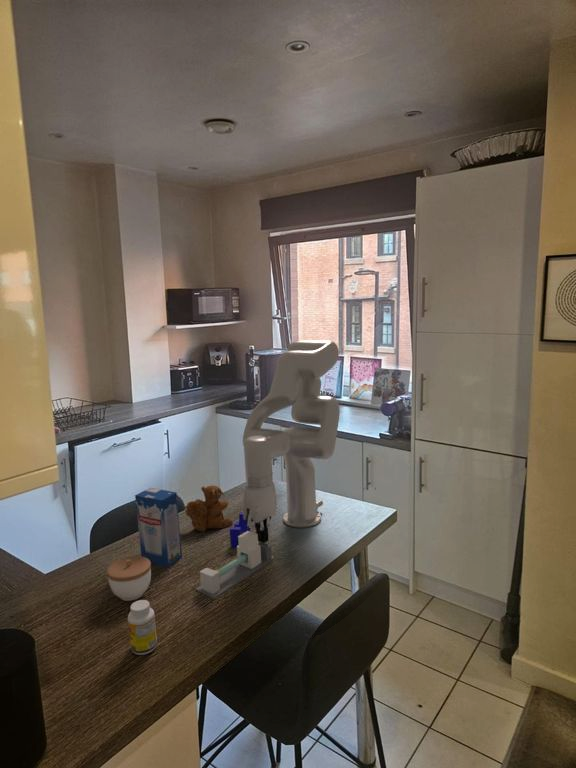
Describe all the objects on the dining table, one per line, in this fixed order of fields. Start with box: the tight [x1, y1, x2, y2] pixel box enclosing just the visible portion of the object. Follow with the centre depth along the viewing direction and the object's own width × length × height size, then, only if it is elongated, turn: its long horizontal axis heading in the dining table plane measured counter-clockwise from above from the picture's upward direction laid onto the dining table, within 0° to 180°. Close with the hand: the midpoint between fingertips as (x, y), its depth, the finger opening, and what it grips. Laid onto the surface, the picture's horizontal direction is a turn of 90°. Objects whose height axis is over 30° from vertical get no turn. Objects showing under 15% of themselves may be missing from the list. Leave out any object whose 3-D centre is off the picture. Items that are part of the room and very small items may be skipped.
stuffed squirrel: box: [183, 485, 234, 532], centre depth 169 cm, size 10×14×13 cm
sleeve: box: [236, 530, 261, 569], centre depth 144 cm, size 4×5×8 cm
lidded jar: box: [106, 555, 152, 602], centre depth 133 cm, size 11×11×9 cm
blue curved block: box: [229, 511, 251, 549], centre depth 161 cm, size 12×4×6 cm, turn 170°
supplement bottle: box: [127, 599, 158, 656], centre depth 112 cm, size 6×6×10 cm
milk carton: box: [134, 487, 183, 568], centre depth 149 cm, size 10×6×20 cm, turn 62°
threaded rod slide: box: [194, 541, 276, 600], centre depth 140 cm, size 24×7×5 cm, turn 142°
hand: (262, 540), depth 148 cm, fingers closed
